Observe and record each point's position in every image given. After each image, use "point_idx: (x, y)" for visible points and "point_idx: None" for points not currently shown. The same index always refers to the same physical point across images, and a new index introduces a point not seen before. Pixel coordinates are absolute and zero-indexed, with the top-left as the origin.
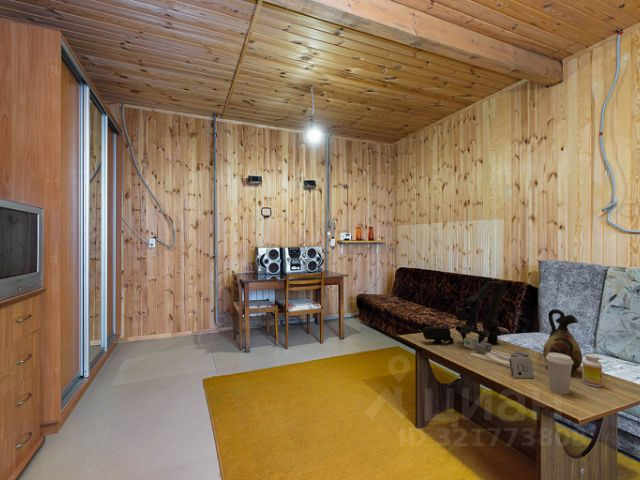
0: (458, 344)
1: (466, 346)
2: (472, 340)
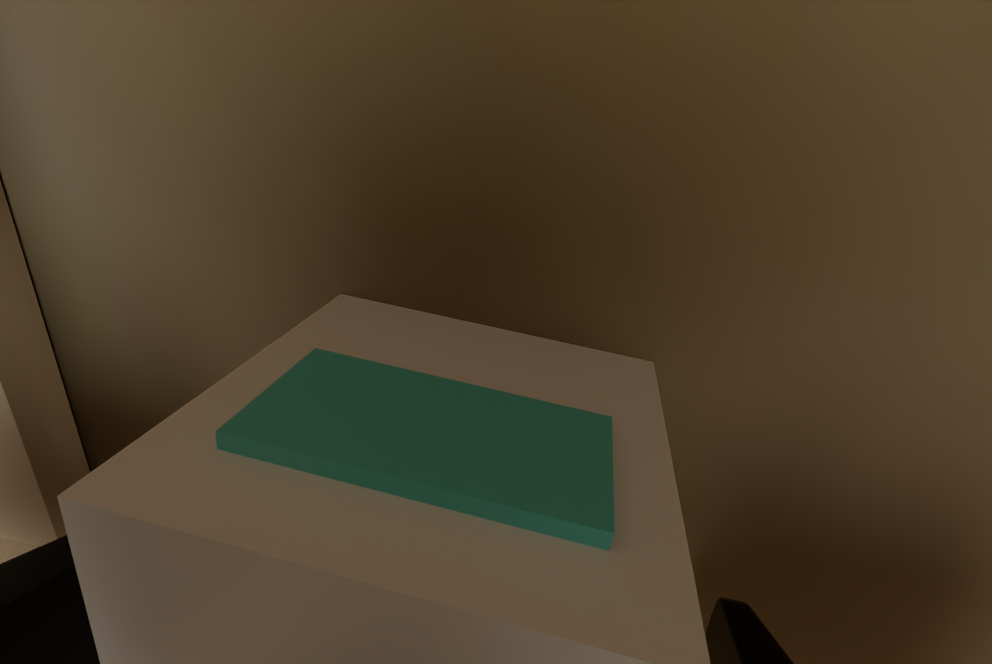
0: (921, 417)
1: (542, 349)
2: (85, 575)
